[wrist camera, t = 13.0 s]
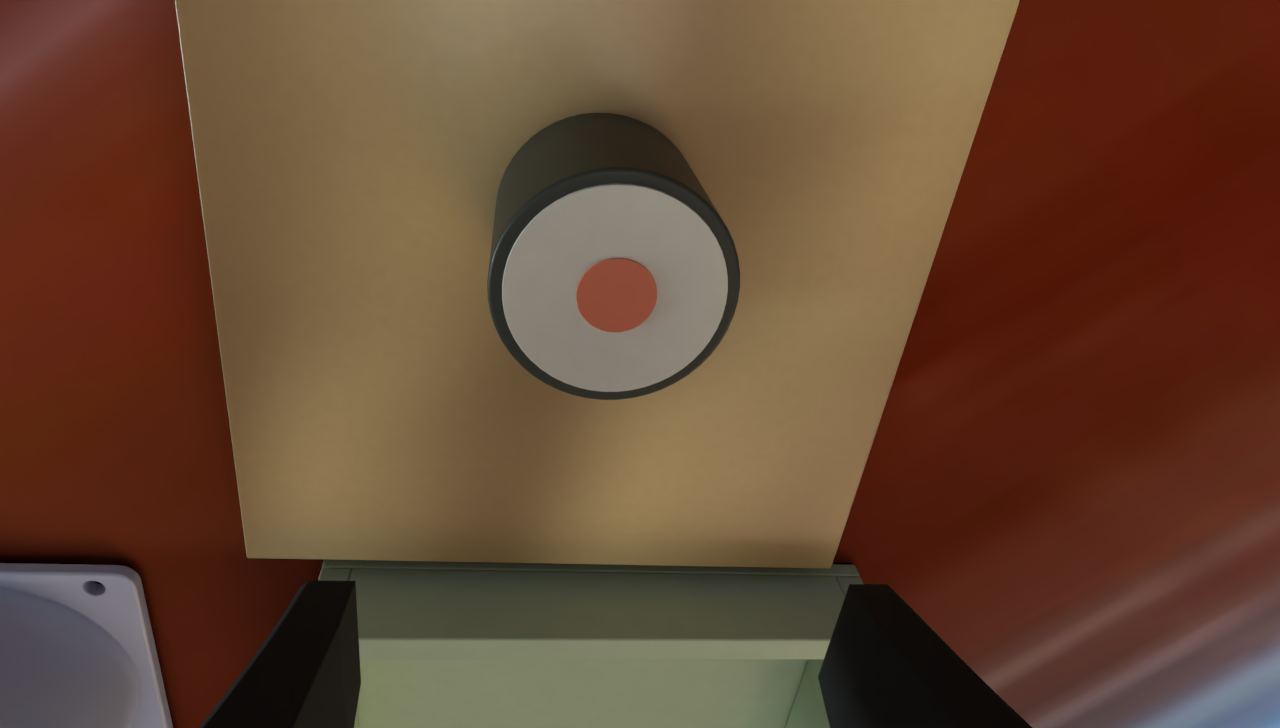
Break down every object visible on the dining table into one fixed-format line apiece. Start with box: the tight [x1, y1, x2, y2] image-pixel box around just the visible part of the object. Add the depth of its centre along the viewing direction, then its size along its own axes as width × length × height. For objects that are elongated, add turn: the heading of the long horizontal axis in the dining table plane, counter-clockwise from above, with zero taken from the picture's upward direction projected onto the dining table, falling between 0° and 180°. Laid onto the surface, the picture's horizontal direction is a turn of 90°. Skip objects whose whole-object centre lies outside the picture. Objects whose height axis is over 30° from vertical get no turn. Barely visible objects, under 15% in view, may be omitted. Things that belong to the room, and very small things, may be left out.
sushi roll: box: [487, 113, 740, 400], centre depth 16 cm, size 4×4×4 cm
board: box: [175, 0, 1020, 569], centre depth 18 cm, size 16×20×1 cm
